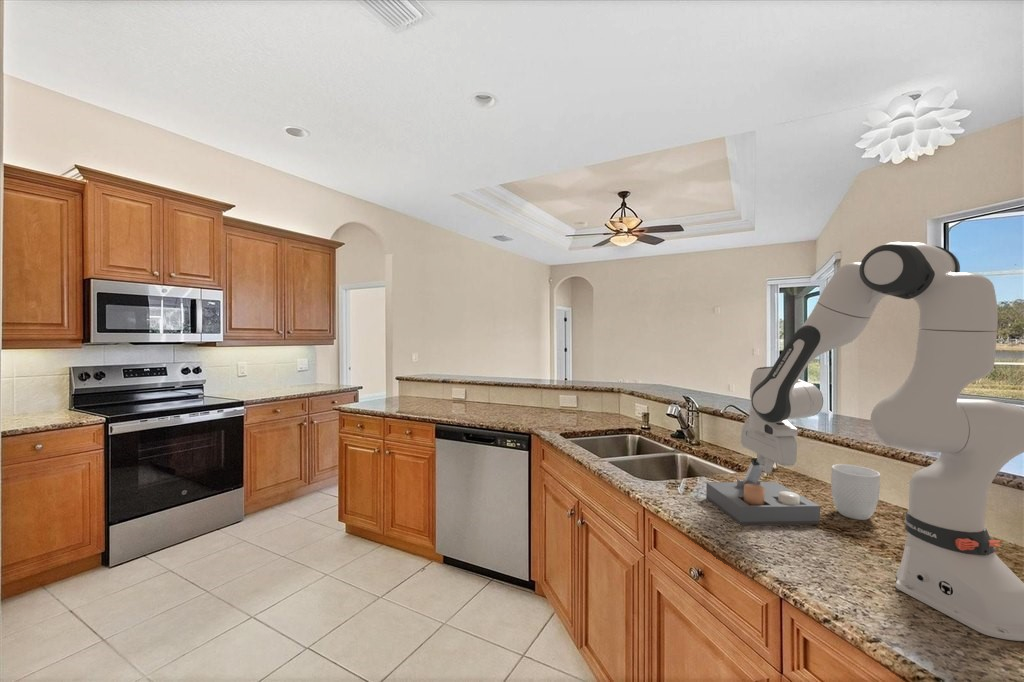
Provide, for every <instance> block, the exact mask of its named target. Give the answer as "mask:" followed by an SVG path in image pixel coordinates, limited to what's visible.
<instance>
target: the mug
mask: <svg viewBox="0 0 1024 682" xmlns="http://www.w3.org/2000/svg"><path fill="white" fill-rule="evenodd" d="M830 475H831V476H830V486H831V487H830V489H831V490H830V491H831V496H832V500H833V501H832V502H833V504H834V506H835V508H836V510H837V511H838V513H839V514H840V515H842V516H844V517H846V518H848V519H853V520H858V521H867V520H869V519H870V518H871V517H872V516H873V515H874V513H875V511H876V509H877V507H878V503H879V499H880V490H881V489H880V488H881V473H880V472H879V471H877V470H875V469H872V468H870V467H865V466H861V465H855V464H845V463H841V464H840V463H837V464H833V465H831V474H830Z"/></svg>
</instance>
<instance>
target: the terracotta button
mask: <svg viewBox="0 0 1024 682" xmlns="http://www.w3.org/2000/svg"><path fill="white" fill-rule="evenodd" d="M764 494H765V488H764V487H763V486H760V485H757V484H745V485H744V502H745V503H747V504H748V505H764Z"/></svg>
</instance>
